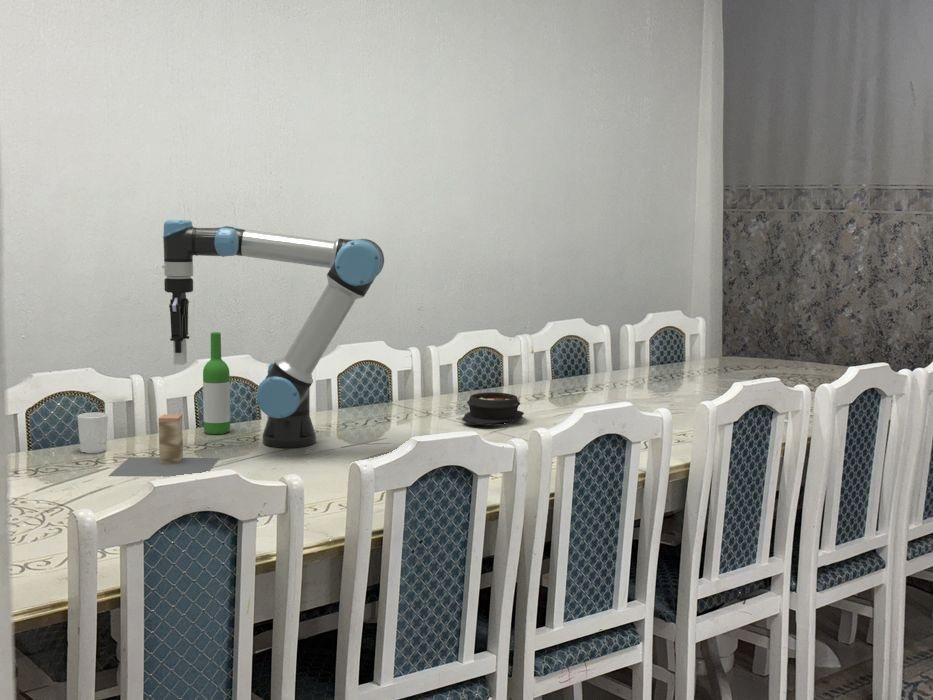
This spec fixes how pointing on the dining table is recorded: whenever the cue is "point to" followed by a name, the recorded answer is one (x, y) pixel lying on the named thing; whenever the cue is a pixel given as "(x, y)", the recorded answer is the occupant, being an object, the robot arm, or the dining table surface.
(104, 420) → the white cup
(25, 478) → the dining table surface
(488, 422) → the casserole
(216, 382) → the wine bottle
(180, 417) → the maple block
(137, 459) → the mat
